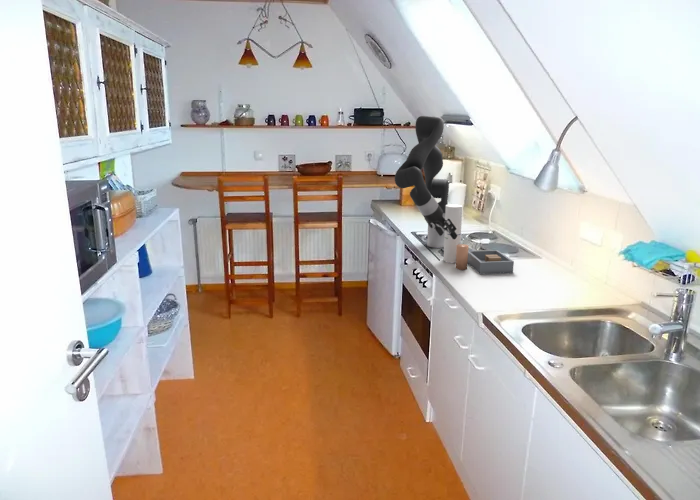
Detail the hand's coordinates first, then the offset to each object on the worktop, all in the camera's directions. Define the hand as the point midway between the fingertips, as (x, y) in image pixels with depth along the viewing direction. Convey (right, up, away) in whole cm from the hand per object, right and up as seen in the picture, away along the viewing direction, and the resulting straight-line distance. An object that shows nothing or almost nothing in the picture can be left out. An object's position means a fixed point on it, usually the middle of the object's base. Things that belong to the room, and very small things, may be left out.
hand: (448, 236), depth 203 cm
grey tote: (+19, -13, +9) cm, 25 cm away
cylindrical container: (+5, -11, +19) cm, 23 cm away
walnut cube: (+19, -13, +5) cm, 24 cm away
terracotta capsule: (+7, -14, +8) cm, 17 cm away
